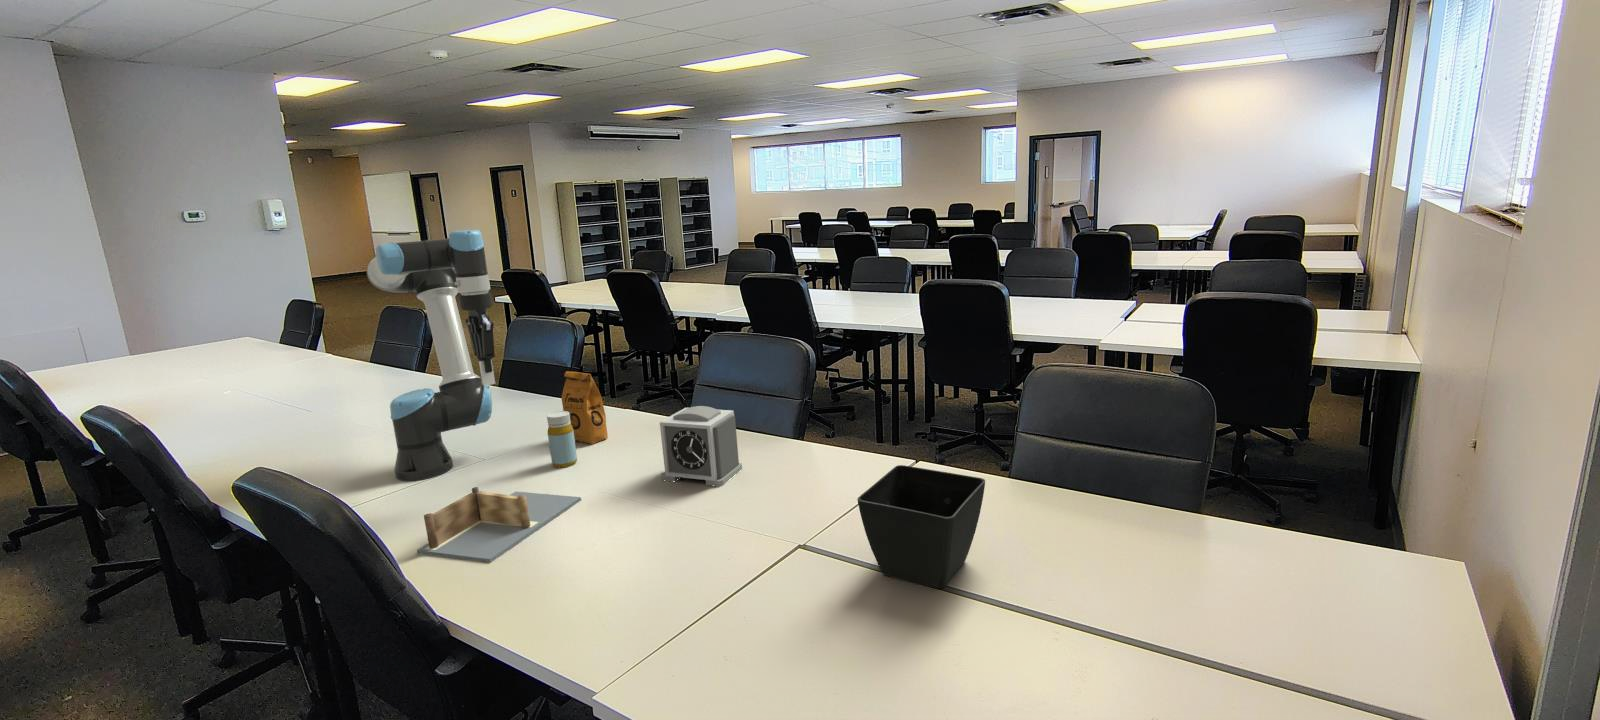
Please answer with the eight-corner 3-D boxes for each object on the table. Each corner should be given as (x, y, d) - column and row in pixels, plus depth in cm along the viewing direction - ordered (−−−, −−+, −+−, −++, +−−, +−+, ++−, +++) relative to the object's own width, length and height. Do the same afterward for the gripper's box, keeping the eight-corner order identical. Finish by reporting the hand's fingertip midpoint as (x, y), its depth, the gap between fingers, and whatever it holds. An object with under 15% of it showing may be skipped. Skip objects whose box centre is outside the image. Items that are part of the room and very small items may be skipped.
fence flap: (479, 520, 179) (475, 491, 178) (485, 517, 181) (481, 488, 179) (526, 527, 174) (521, 498, 172) (532, 524, 175) (527, 495, 174)
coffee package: (588, 447, 231) (579, 377, 226) (562, 441, 238) (553, 374, 233) (613, 437, 239) (605, 370, 234) (588, 432, 246) (579, 366, 241)
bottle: (570, 468, 214) (563, 417, 210) (547, 468, 215) (540, 417, 212) (581, 459, 220) (575, 410, 217) (560, 459, 222) (553, 410, 218)
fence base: (434, 549, 166) (428, 515, 164) (427, 548, 167) (421, 515, 165) (485, 518, 181) (480, 487, 179) (479, 517, 182) (474, 486, 180)
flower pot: (953, 604, 134) (951, 516, 130) (858, 580, 144) (854, 498, 140) (987, 557, 150) (987, 478, 146) (900, 538, 160) (897, 464, 156)
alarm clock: (660, 480, 200) (653, 414, 196) (685, 463, 212) (679, 400, 208) (721, 487, 193) (715, 419, 189) (744, 468, 205) (738, 404, 201)
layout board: (490, 562, 160) (489, 558, 160) (417, 553, 167) (416, 549, 166) (581, 500, 191) (580, 496, 190) (516, 494, 197) (515, 491, 197)
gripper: (450, 293, 190) (465, 383, 195) (468, 296, 180) (483, 391, 186) (480, 289, 195) (494, 377, 200) (499, 292, 185) (513, 384, 191)
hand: (488, 384), depth 193 cm, fingers closed
